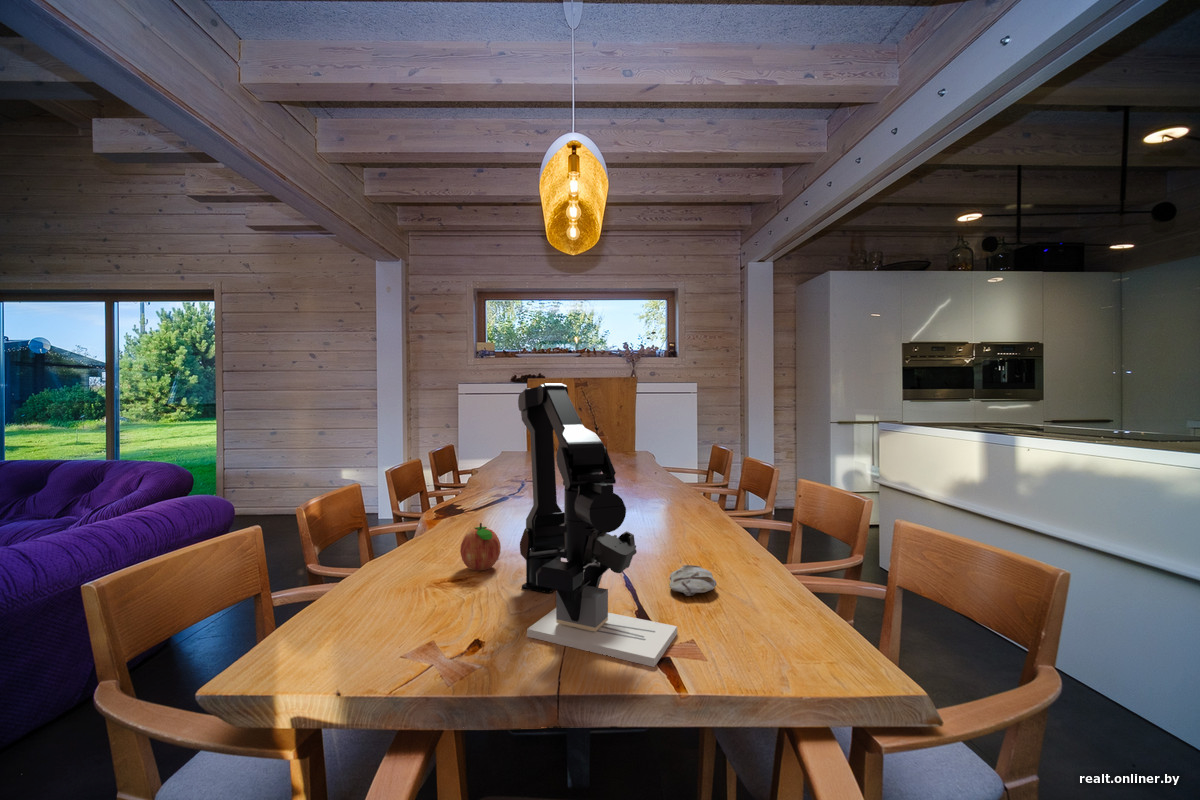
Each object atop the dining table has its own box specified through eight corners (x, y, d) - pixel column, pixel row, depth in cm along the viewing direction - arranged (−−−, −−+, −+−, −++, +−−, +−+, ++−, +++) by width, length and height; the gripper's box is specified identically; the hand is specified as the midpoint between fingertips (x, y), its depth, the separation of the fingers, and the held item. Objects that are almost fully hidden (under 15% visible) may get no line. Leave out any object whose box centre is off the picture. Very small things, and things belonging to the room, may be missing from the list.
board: (527, 636, 79) (527, 628, 79) (561, 610, 89) (561, 603, 89) (654, 667, 70) (654, 658, 70) (677, 633, 80) (677, 626, 80)
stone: (720, 602, 94) (720, 584, 94) (670, 600, 94) (670, 582, 94) (710, 579, 106) (710, 563, 106) (666, 577, 106) (666, 562, 106)
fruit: (459, 577, 106) (459, 529, 106) (461, 563, 115) (461, 519, 115) (501, 574, 108) (501, 527, 108) (499, 560, 117) (499, 517, 117)
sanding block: (556, 622, 81) (556, 591, 81) (570, 612, 85) (570, 582, 85) (595, 631, 78) (595, 599, 78) (607, 620, 82) (607, 589, 82)
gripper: (602, 537, 69) (602, 651, 69) (649, 511, 86) (649, 602, 86) (534, 528, 74) (534, 635, 74) (591, 505, 91) (591, 591, 91)
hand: (582, 614), depth 81 cm, fingers closed on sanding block, 4 cm apart
